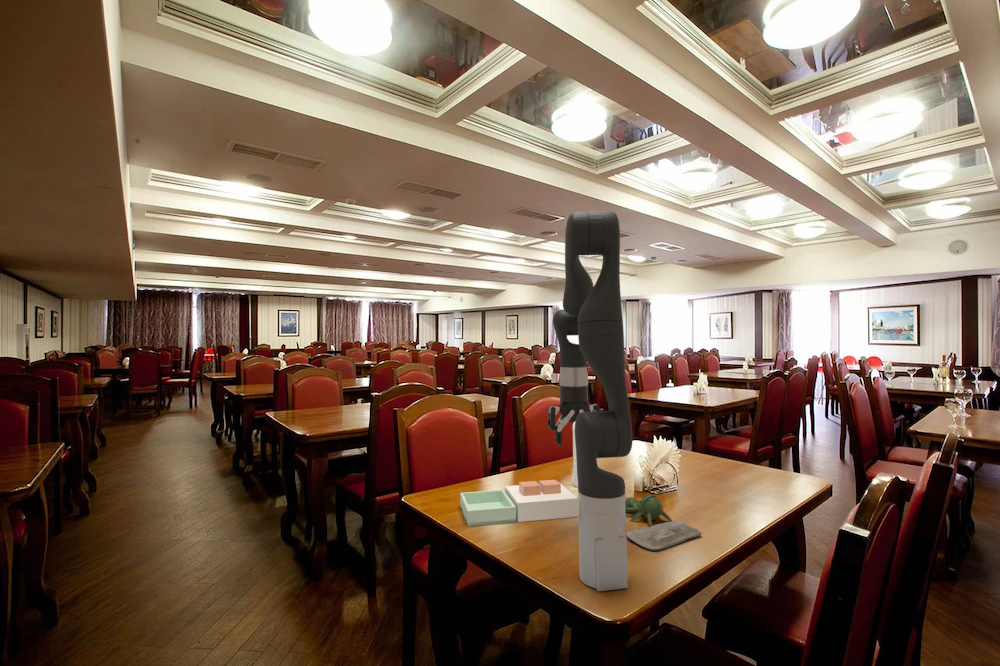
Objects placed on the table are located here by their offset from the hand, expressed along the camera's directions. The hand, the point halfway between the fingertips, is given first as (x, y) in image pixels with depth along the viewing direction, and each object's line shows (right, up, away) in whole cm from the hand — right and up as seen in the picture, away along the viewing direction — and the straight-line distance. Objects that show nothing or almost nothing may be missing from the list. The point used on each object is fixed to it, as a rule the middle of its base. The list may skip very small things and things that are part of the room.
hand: (574, 444), depth 125 cm
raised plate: (-9, -21, +9) cm, 24 cm away
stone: (+20, -21, -12) cm, 31 cm away
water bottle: (+7, -22, +33) cm, 40 cm away
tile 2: (-6, -16, +10) cm, 19 cm away
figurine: (+18, -21, +4) cm, 28 cm away
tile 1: (-12, -16, +9) cm, 21 cm away
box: (-24, -21, +6) cm, 32 cm away
